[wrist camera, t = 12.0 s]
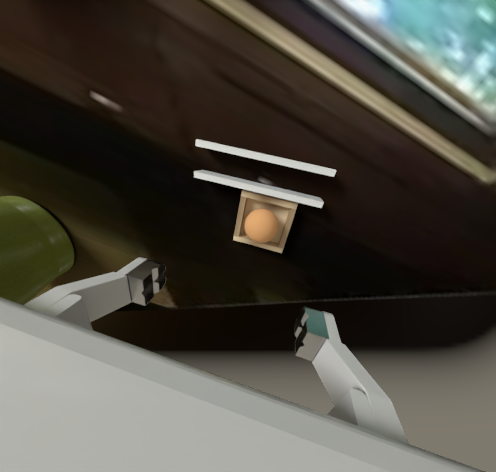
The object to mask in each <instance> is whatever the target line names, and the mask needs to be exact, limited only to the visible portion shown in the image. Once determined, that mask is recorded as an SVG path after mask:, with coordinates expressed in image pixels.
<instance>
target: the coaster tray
mask: <svg viewBox="0 0 496 472" xmlns="http://www.w3.org/2000/svg"><path fill="white" fill-rule="evenodd" d="M297 206H298V202H294V201H290V200H286V199H281V198H277V197H273V196H269V195H265V194H261V193H257V192H253V191H249V190H244V189H243V190H242V193H241V199H240V204H239V210H238V216H237V221H236V227H235V232H234V238H233V240H235V241H239V242H243V243H246V244H250V245H254V246H257V247H261V248H265V249H268V250H272V251H276V252H279V253H282V251H283V248H284V245H285V242H286V239H287V236H288V233H289V230H290V227H291V224H292V221H293V218H294V215H295V212H296V209H297ZM257 209H267V210H269V211H271V212H272V213H274V215H275V216H276V217H277V219H278V223H279V229H278V232H277V234H276V236H275V237H274V238H273V239H272V240H270V241H268V242H265V243H258V242H255V241H253V240H251V239H250V238H249V237H248V236H247V234H246V232H245V220H246V218H247V216H248V215H249V214H250V213H251V212H252V211H254V210H257Z"/></svg>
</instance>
